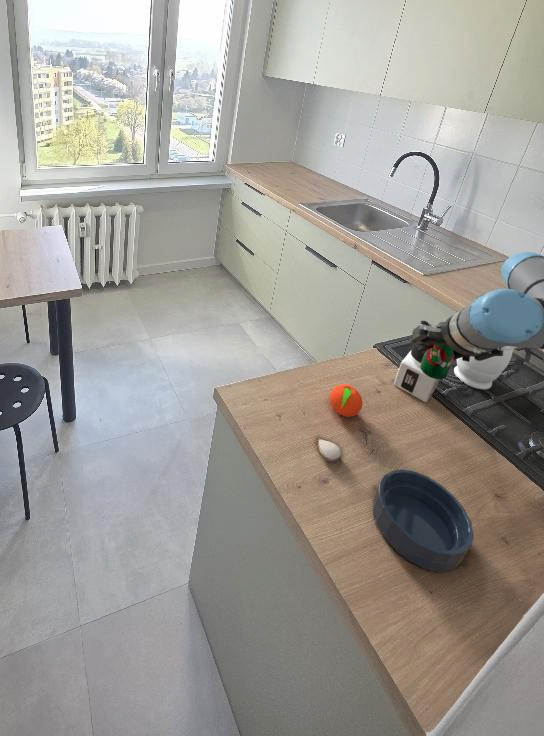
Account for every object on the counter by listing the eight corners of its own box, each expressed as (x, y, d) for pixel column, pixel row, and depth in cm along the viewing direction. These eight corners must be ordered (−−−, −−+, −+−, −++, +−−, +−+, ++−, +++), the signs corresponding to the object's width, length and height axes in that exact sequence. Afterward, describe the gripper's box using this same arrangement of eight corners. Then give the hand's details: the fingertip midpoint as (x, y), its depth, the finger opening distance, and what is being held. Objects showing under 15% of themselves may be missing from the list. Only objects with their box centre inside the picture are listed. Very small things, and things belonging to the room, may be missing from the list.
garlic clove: (328, 467, 85) (330, 458, 84) (310, 447, 89) (312, 438, 88) (343, 459, 86) (346, 451, 85) (325, 440, 91) (327, 432, 90)
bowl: (455, 510, 78) (465, 491, 76) (468, 592, 66) (480, 572, 64) (372, 476, 83) (379, 457, 81) (371, 545, 72) (379, 526, 69)
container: (426, 403, 101) (443, 362, 96) (392, 384, 106) (407, 344, 101) (436, 387, 106) (453, 347, 101) (404, 370, 111) (418, 331, 106)
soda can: (437, 365, 93) (454, 321, 88) (450, 382, 89) (470, 336, 84) (414, 363, 93) (430, 319, 88) (426, 380, 89) (444, 335, 84)
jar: (458, 358, 117) (477, 314, 110) (502, 381, 109) (525, 336, 103) (442, 374, 111) (461, 328, 105) (487, 399, 103) (510, 352, 97)
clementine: (352, 432, 93) (360, 408, 90) (321, 415, 97) (328, 392, 94) (361, 409, 99) (369, 387, 96) (332, 394, 102) (338, 372, 100)
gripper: (411, 335, 75) (387, 352, 95) (536, 371, 68) (482, 381, 88) (417, 296, 77) (393, 321, 97) (540, 326, 70) (486, 346, 90)
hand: (435, 349), depth 93 cm, fingers closed on soda can, 5 cm apart
